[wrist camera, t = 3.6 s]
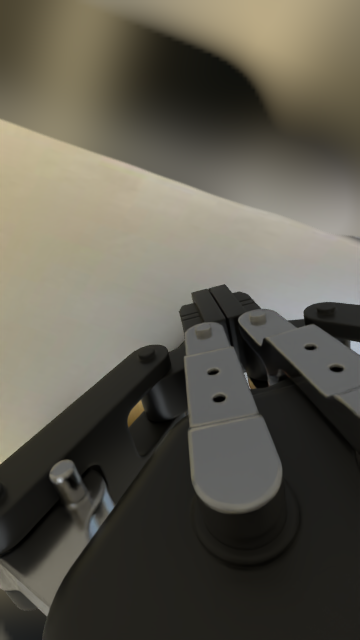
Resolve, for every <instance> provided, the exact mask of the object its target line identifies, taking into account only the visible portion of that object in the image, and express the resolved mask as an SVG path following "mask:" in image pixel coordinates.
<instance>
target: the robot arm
mask: <svg viewBox="0 0 360 640" xmlns="http://www.w3.org/2000/svg"><path fill="white" fill-rule="evenodd" d="M191 294H192V300H193V303H192V304H188V305H184V306H182V307H181V309H180V311H179V313H180V317H181V321H182V325H183V329H184V333H185V334H184V337H185V342H184V343H183V344H182V345H181V346H180V347H178V348H177V349H175V350H173V351H171V352H168V350H167V348H166V347H165V346H162V345H149V346H145V347H142V348H140V349H138V350H136V351H134V352H133V353H131V354H130V355H129V356H128V357H127V358H126V359H124V360H123V361H122V362H121V363H120V364H118V365H117V366H116V367H115V368H114V369H113V370H111V371H110V372H109V373H108V374H107V375H106V376H104V377H103V378H102V379H101V380H100V381H98V382H97V383H96V384H95V385H94V386H93V387H91V388H90V389H89V390H88V391H87V392H85V393H84V394H83V395H82V396H81V397H80V398H78V399H77V400H76V401H75V402H74V403H72V404H71V405H70V406H69V407H68V408H67V409H65V410H64V411H63V412H62V413H61V414H59V415H58V416H57V417H56V418H55V419H54V420H52V421H51V422H50V423H49V424H48V425H46V426H45V427H44V428H43V429H42V430H41V431H39V432H38V433H37V434H36V435H35V436H33V437H32V438H31V439H30V440H29V441H28V442H26V443H25V444H24V445H23V446H22V447H20V448H19V449H18V450H17V451H16V452H15V453H13V454H12V455H11V456H10V457H9V458H7V459H6V460H5V461H4V462H3V463H2V464H0V588H1V589H3V590H5V592H6V593H7V594H8V596H9V597H10V598H11V600H12V601H13V602H14V603H15V605H16V606H17V607H18V608H20V609H22V610H25V611H30V610H35V609H38V608H39V609H40V610H41V611H42V612H43V613H44V614H45V615H46V616H47V619H46V623H45V627H44V632H43V637H42V640H360V355H359V354H357V353H356V352H354V351H353V350H352V349H350V340H351V341H356V342H360V305H353V304H344V303H335V302H323V303H317V304H313V305H311V306H309V307H307V308H306V309H305V310H304V319H300V320H288V321H287V320H286V319H285V318H283V317H282V316H281V315H279V314H278V313H277V312H275V311H273V310H269V309H261V308H260V307H259V306H258V305H257V304H256V303H255V302H254V301H253V300H252V299H251V297H250V296H249V295H248V294H245V293H242V292H235V293H232V292H231V291H230V290H229V289H228V287H227V286H226V285H225V284H224V285H220V286H216V287H212V288H209V290H208V289H204V290H200V291H196V292H192V293H191ZM244 372H247V376H248V382H249V386H250V388H251V389H250V388H249V386H248V383H247V380H246V378H245V375H244ZM140 400H141V402H142V405H143V408H144V411H143V412H142V413H141V414H140V416H139V417H138V418H137V419H136V420H135V421H134V422H133V423H132V424H131V425H130V427H128V416H129V413H130V411H131V410H132V409H133V408H134V407H135V406H136V404H137V403H138V402H139V401H140ZM187 411H188V415H185V412H187Z"/></svg>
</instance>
